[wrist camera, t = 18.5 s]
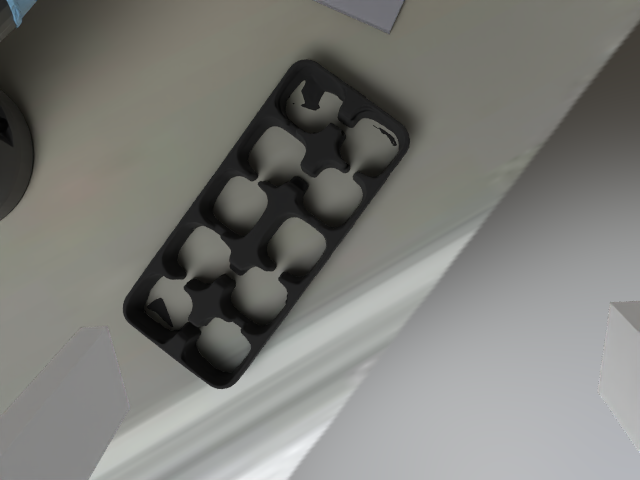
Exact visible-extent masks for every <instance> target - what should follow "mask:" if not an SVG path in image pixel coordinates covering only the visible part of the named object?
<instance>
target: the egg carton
mask: <svg viewBox="0 0 640 480" xmlns="http://www.w3.org/2000/svg"><path fill="white" fill-rule="evenodd" d="M304 80H305V81H306V83H305V85H304V87H303V89H302V94H303V97H304V100H305V104H302V105H301V106H303V107H306V108H308V109H311V110H317V109H319V108H320V107H319V105H318V104H319V101H320V99H321V97H322V95H323V93H324V92H325V91H326V92H330V93H333V94H335V95H337V96H338V97H339V99H340V100H342V101H343V104H342V106H341V107H340V110H339V114H338V120H339V121H340V122H342V123H343V124H344V125H346V126H348V127H350V128H353V127H354V126H355V125H356V123H357V122H358V121H359V120H360V119H362V118H369V119H373V120H375V121H376V122H378V123H380V124H381V125H383V126H385V127H386V128H387V129H389V130H390V131H392V132H393V133H394V134H395V135H396V137H397V139H398V142H399V152H398V154H397V155H396V156H395V158H394V159H393V160H392V162H391V163H390V164H389V165H388V167H387V168H386V169H385V170H384V171H383V172H382V173H381V174H380V175H379V176H376V177H369V176H366V175H364V174H362V173H360V172H356V173H355V174H354V175H353V180H354V181H355V182H356V183H357V184H359V186H360V187H361V189H362V192H363V198H362V201H361V203H360V204H359V206H358V207H357V209H356V210H355V212H354V213H353V214H352V216H351V217H350V218H349V219H348V221H347V222H346V223H345V224H344V225H342V226H340V227H336V228H334V227H330V226H328V225H326V224H325V223H323V222H322V221H320V220H319V219H317V218H316V217H315V216H313V215H312V214H311V213H310V212H308V211H307V210H306V208H305V207H304V204H303V197H304V194H305V192H306V191H307V189H308V187H309V185H308V184H307V183H306V182H305V181H304V180H302V179H301V178H300V177H296V176H295V177H293V178H292V179H291V181H290V182H289V183H288V182H286V183H284V184H283V185H281V186H274V185H273V184H271V183H270V182H267V181H264V182H263V181H260V182H259V183H258V185H259V187H260V188H261V189H262V190H263V191H264V192H265V193H266V194H267V198H268V205H267V208H266V210H265V212H264V213H263V215H262V216H261V218H260V219H259V221H258V222H257V224H256V225H255V226H254V227H253V229H252V230H251V231H250V232H249V233H248V234H247V235H246V236H242V235H239V234H237V233H235V232H233V231H232V230H230V229H229V228H228V227H226V226H225V225H224V224H223V223H221V222H220V221H219V220H218V219H217V218H216V217H215V216H214V214H213V206H214V203H215V201H216V199H217V197H218V196H219V194H220V193H221V191H222V189H223V188H224V186H225V185H226V184H227V182H228V181H229V180H230V179H231V178H233V177H235V176H243V177H245V178H247V179H248V180H250V181H254V180H256V179H257V178H258V174H257V173H256V172H255V171H254V170H253V169H252V168H251V167H250V165H249V162H248V158H249V153H250V151H251V149H252V148H253V146H254V145H255V144H256V142H257V141H258V139H259V138H260V137H261V136H262V134H263V133H264V132H265V131H266V130H267V129H268V128H270V127H273V126H278V127H281V128H283V129H284V130H286V131H287V132H289V133H290V134H291V135H293V136H294V137H295V138H297V139H298V140H299V141H300V142H302V143H303V144H304V146H305V147H306V154H305V156H304V158H303V160H302V162H301V168H302V170H303V171H304V172H305V173H306V174H308V175H309V176H311V177H314V178H315V177H317V176H318V175H319V174H320V172H321V171H323V170H324V169H326V168H336V169H338V170H340V171H341V172H343V173H347V172H348V171H349V170H350V166H348V164H347V163H346V162H345V161H344V160H343V159H342V157H341V154H340V148H341V145H342V143H343V141H344V140H345V138H346V135H345V133H344V132H343V131H342V130H341V129H340V128H339V127H337V126H336V125H334V124H333V123H330V124H329V125H328V126H327V127H326V128H325V129H324V130H322V131H321V132H319V133H313V134H311V133H306V132H305V131H303V130H301V129H300V128H298V127H297V126H296V125H294V124H293V122H291V121H289V120H288V117H287V115H286V111H285V108H286V102H287V100H288V98H289V97H290V95H291V94H292V92H293V91H294V90H295V89H296V88H297V87H298V85H299V84H300V83H301V82H302V81H304ZM293 104H294V103H293ZM373 126H374V125H373ZM374 127H375V126H374ZM376 128H377V127H376ZM378 129H380V131H381V132H382V133H383V134H386V135H387V136H388V138H389V139H390V141H391V143H392V144H393V146H396V145H397V144H396V141H395V139H394V138H393V137H392V136H391V135H390V134H388V133H387V132H386V131H384V130H383V129H381V128H378ZM341 131H342V132H343V133H344V136H343V135H342V133H341ZM393 142H394V143H393ZM409 144H410V138H409V134H408V131H407V130H406V128H405V127H404V126H403V125H402V124H401V123H400V122H398V121H397V120H396V119H394V118H393V117H392V116H390V115H389V114H387V113H386V112H385V111H383V110H382V109H380V108H379V107H378V106H376V105H375V104H374V103H372V102H371V101H370V100H368V99H367V98H366V97H365V96H364V95H362V94H361V93H359V92H358V91H357V90H355V89H353V88H352V87H351V86H349V85H348V84H346V83H345V82H343V81H342V80H341V79H339V78H338V77H337V76H335V75H334V74H332V73H331V72H329V71H328V70H326V69H325V68H324V67H322V66H321V65H320V64H318V63H317V62H315V61H312V60H307V59H306V60H300V61H297V62H295V63H294V64H293V65H292V66H291V67H290V68H289V69H288V71H287V72H286V74H285V75H284V76H283V78H282V79H281V81H280V82H279V84H278V85H277V86H276V88H275V89H274V91H273V92H272V93H271V95H270V96H269V98H268V99H267V100H266V102H265V103H264V105H263V106H262V107H261V109H260V110H259V111H258V113H257V114H256V116H255V117H254V119H253V120H252V121H251V123H250V124H249V126H248V127H247V128H246V130H245V131H244V133H243V134H242V135H241V137H240V138H239V140H238V141H237V143H236V144H235V145H234V147H233V148H232V150H231V151H230V152H229V154H228V155H227V157H226V158H225V160H224V161H223V162H222V164H221V165H220V167H219V168H218V169H217V171H216V172H215V174H214V175H213V176H212V178H211V179H210V180H209V182H208V183H207V185H206V186H205V187H204V189H203V190H202V191H201V193H200V194H199V196H198V197H197V198H196V200H195V201H194V202H193V204H192V205H191V207H190V208H189V210H188V211H187V212H186V214H185V215H184V216H183V218H182V219H181V221H180V222H179V224H178V225H177V226H176V228H175V229H174V230H173V232H172V233H171V234H170V236H169V237H168V239H167V240H166V242H165V243H164V245H163V246H162V247H161V249H160V250H159V251H158V252H157V254H156V255H155V257H154V258H153V259H152V261H151V262H150V264H149V265H148V266H147V268H146V269H145V271H144V272H143V273H142V275H141V276H140V278H139V279H138V281H137V282H136V283H135V285H134V286H133V288H132V289H131V291H130V292H129V293H128V295H127V296H126V298H125V300H124V304H123V314H124V317H125V319H126V320H127V322H128V323H129V324H131V325H132V326H133V327H134V328H136V329H137V330H138V331H139V332H141V333H142V334H143V335H144V336H146V337H147V338H148V339H150V340H151V341H152V342H153V343H155V344H156V345H157V346H158V347H160V348H161V349H162V350H164V351H165V352H166V353H167V354H169V355H170V356H171V357H173V358H174V359H175V360H176V361H178V362H179V363H180V364H182V365H183V366H184V367H186V368H187V369H188V370H190V371H191V372H192V373H194V374H195V375H196V376H198V377H199V378H201V379H202V380H203V381H205V382H206V383H207V384H209V385H210V386H212V387H214V388H217V389H225V388H229V387H231V386H232V385H234V384H235V383H236V382H237V381H238V380H239V379H240V377H241V376H242V375H243V374H244V372H245V371H246V370H247V368H248V367H249V366H250V364H251V363H252V362H253V360H254V359H255V357H256V356H257V355H258V353H259V352H260V351H261V349H262V348H263V347H264V345H265V344H266V342H267V341H268V340H269V338H270V337H271V336H272V334H273V333H274V332H275V330H276V329H277V328H278V326H279V325H280V324H281V323H282V321H283V320H284V318H285V317H286V316H287V314H288V313H289V312H290V310H291V309H292V307H293V306H294V305H295V303H296V302H297V300H298V299H299V298H300V296H301V295H302V294H303V292H304V291H305V290H306V288H307V287H308V286H309V284H310V283H311V281H312V280H313V279H314V277H315V276H316V275H317V274H318V273H319V271H320V270H321V269H322V267H323V266H324V265H325V263H326V262H327V260H328V259H329V258H330V256H331V254H332V253H333V251H334V250H335V249H336V248H337V247H338V245H339V244H340V243H341V241H342V240H343V239H344V237H345V236H346V235H347V233H348V232H349V231H350V229H351V228H352V227H353V225H354V224H355V222H356V221H357V219H358V218H359V216H360V215H361V214H362V212H363V211H364V210H365V208H366V207H367V205H368V204H369V203H370V201H371V200H372V199H373V197H374V196H375V195H376V193H377V192H378V191H379V189H380V188H381V187H382V185H383V184H384V183H385V182H386V180H387V178H388V177H389V175H390V173H391V172H392V171H393V169H394V168H395V167H396V166H397V165H398V163H399V162H400V161H401V159H402V158H403V156H404V155H405V154H406V152H407V150H408V148H409ZM291 217H298V218H300V219H302V220H304V221H305V222H307V223H308V224H310V225H311V226H312V227H314V228H315V229H316V230H317V231H319V232H320V233H321V234H322V235H323V236H324V238H325V240H326V249H325V251H324V253H323V255H322V256H321V258H320V259H319V261H318V262H317V263H316V265H315V266H314V267H313V269H312V270H311V271H310V272H309V273H308V274H307V275H305V276H302V277H296V276H293V275H291V274H289V273H288V272H283V273H282V274H281V275H280V277H279V278H278V280H279V281H280V283H282V284H283V285H284V286H285V288H286V289H287V292H288V294H287V300H286V301H285V302H286V305H285V307H284V308H283V310H282V311H281V312H280V313H279V314H278V316H277V317H276V318H275V319H274V320H273V321H272V322H271V323H269V324H267V325H258V324H256V323H254V322H253V321H252V320H250V319H249V318H247V317H246V316H245V315H243V314H242V313H241V312H239V311H238V310H237V309H236V308H235V307H234V306H233V304H232V301H231V295H232V292H233V290H234V288H235V287H236V282H235V281H234V280H233V279H232V278H230V277H229V276H228V275H226V274H223V275H222V276H221V277H219V278H218V279H216V280H215V281H214V282H213V283H211V284H205V283H202V282H200V281H199V280H197V279H195V278H194V279H192V280H190V281H189V282H187V284H186V285H185V286H184V290H185V291H186V292H187V293H188V294H189V295H190V297H191V299H192V302H193V308H192V311H191V314H190V315H189V317H188V320H189V321H190V322H187V323H186V324H185V325H184V326H183V327H182V328H181V329H180V330H174V331H171V330H169V329H167V328H165V327H164V326H162V325H161V324H160V323H158V322H156V321H155V320H154V319H152V318H151V317H150V316H148V315H147V314H146V313H145V312H146V311H145V310H144V305H145V304H146V301H147V299H148V296H149V293H150V290H151V289H152V288H153V286H154V285H155V284H156V282H157V281H158V280H159V279H160V278H161V277H163V276H165V277H166V278H168V279H172V280H175V279H185V277H186V275H187V274H186V271H185V270H184V269H183V268H182V267H181V266H180V265H179V263H178V261H177V259H178V254H179V251H180V249H181V247H182V246H183V244H184V243H185V241H186V240H187V238H188V237H189V235H190V234H191V233H192V232H193V231H194V230H193V229H194V228H197V227H199V226H206V227H207V228H210V229H212V230H213V231H215V232H216V233H218V234H219V235H220V236H221V239H222V240H223V241H224V242H225V243H226V244H227V246H228V247H229V248H230V249H231V255H230V259H229V261H230V269H232V270H233V271H234V272H235V273H237V274H238V275H244V274H245V273H246V272H247V271H248V270H249V269H250V268H252V267H255V266H257V267H259V268H261V269H263V270H264V271H274V270H275V269H276V264H275V263H274V262H273V261H272V260H271V259H270V258H269V256H268V254H267V245H268V243H269V241H270V239H271V238H272V237H273V235H274V234H275V232H276V231H277V230H278V228H279V227H280V226H281V225H282V223H283V222H284V221H285V220H286V219H288V218H291ZM147 308H148V309H150V310H152V311H155V312H156V313H157V314H158V315H159V316H160V317H161V318H162V319H163V320H164V321H165V322H166V323H167V324H169V325H170V326H171V327H173V324H172V322H171V319H170V316H169V314H168V311H167V309H166V306H165V304H164V301H163V299H162V298H159V299H156V300H154V301H153V302H152V303H150V304H149V305H148V306H147ZM144 311H145V312H144ZM214 317H217V318H221V319H223V320H224V321H226V322H234V323H235V324H237V325H238V326H239V327H241V333H242V334H243V335H244V336H245V337H246V338H247V340H248V341H249V343H250V344H251V351H250V352H249V354H248V355H247V356H246V358H245V359H244V360H243V362H242V363H241V364H240V365H239V366H238V367H237V368H236V369H235V370H234V371H233V372H230V373H229V372H223V371H221V370H219V369H216V368H215V367H214V366H213V365H212V364H210V363H209V362H208V361H207V360H206V359H205V358H204V357H203V356H202V355H201V354H200V352H199V350H198V348H197V346H196V341H197V339H198V338H199V336H200V335H201V331H200V330H199V329H198V327H201V326H204V325H205V326H207V325H208V323H209V322H210V321H211V320H212V319H213V318H214Z"/></svg>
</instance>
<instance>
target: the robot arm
mask: <svg viewBox="0 0 640 480" xmlns="http://www.w3.org/2000/svg"><path fill="white" fill-rule="evenodd" d="M36 1H37V0H0V42H1V41H2V40H3V39H4V38H5V37H6V36H7V35H8V34H9V33H10V32H11V31H12V30H13V29H14V28H15V27H16V28H18V27H19V26H20V24H21V23H22V18H23V16H24V15H25V14H26V13H27V12H28V11H29V9H30V8H31V7H32V6H33V5H34V4H35V2H36ZM32 165H33V146H32V140H31V135H30V132H29V128H28V126H27V123H26V121H25V119H24V117H23V115H22V113H21V112H20V110H19V109H18V107H17V106H16V105H15V103H14V102H13V101H12V100H11V99H10V98H9V97H8V96H7V95H6V94H5V93H4V92H2V91H1V90H0V220H1V219H2V218H4V217H5V216H6V215H7V214H8V213H9V212H10V211H11V210H12V209H13V208H14V207H15V206H16V205H17V203H18V202H19V200H20V199H21V197H22V195H23V194H24V192H25V190H26V188H27V185H28V182H29V179H30V176H31V171H32ZM598 393H599V395H600V396H601V397H602V399H603V401H604V402H605V403H606V405H607V406H608V408H609V409H610V411H611V412H612V414H613V415H614V416H615V418H616V420H617V421H618V423H619V424H620V425H621V427H622V428H623V430H624V431H625V433H626V434H627V436H628V437H629V439H630V440H631V442H632V443H633V445H634V446H635V447H636V449H637V450H638V452H639V453H640V301H630V302H611V303H610V307H609V315H608V321H607V328H606V336H605V343H604V349H603V356H602V364H601V370H600V377H599V385H598ZM129 409H130V404H129V400H128V397H127V393H126V390H125V386H124V382H123V379H122V375H121V372H120V368H119V365H118V361H117V357H116V354H115V350H114V347H113V343H112V339H111V336H110V332H109V329H108V326H97V327H81V328H80V329H79V330H78V331H77V332H76V333H75V334H74V335H73V337H72V338H71V339H70V340H69V341H68V342H67V343H66V344H65V345H64V347H63V348H62V349H61V350H60V351H59V352H58V353H57V354H56V355H55V357H54V358H53V359H52V360H51V361H50V362H49V363H48V364H47V365H46V366H45V368H44V369H43V370H42V371H41V372H40V373H39V374H38V375H37V376H36V378H35V379H34V380H33V381H32V382H31V383H30V384H29V385H28V386H27V388H26V389H25V390H24V391H23V392H22V393H21V394H20V395H19V396H18V398H17V399H16V400H15V401H14V402H13V403H12V404H11V405H10V406H9V408H8V409H7V410H6V411H5V412H4V413H3V414H2V415H1V416H0V480H89V478H90V476H91V474H92V473H93V471H94V469H95V468H96V466H97V464H98V462H99V461H100V459H101V457H102V455H103V454H104V452H105V450H106V449H107V447H108V445H109V443H110V442H111V440H112V438H113V436H114V435H115V433H116V431H117V430H118V428H119V426H120V424H121V423H122V421H123V419H124V417H125V416H126V414H127V412H128V411H129Z"/></svg>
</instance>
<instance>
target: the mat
mask: <svg viewBox="0 0 640 480" xmlns="http://www.w3.org/2000/svg"><path fill="white" fill-rule="evenodd" d="M314 1H316V2H318V3H320V4H323V5H325V6H327V7H329V8H332V9H334V10H336V11H338V12H341V13H343V14H345V15H347V16H350V17H352V18H354V19H357V20H359V21H361V22H363V23H366V24H368V25H370V26H372V27H375V28H377V29H379V30H381V31H384V32H386V33H388V34H389V33H390V31H391V29H392V27H393V25H394V23H395V20H396V18H397V16H398V14H399V12H400V9H401V7H402V5H403V3H404V1H405V0H314Z"/></svg>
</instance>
